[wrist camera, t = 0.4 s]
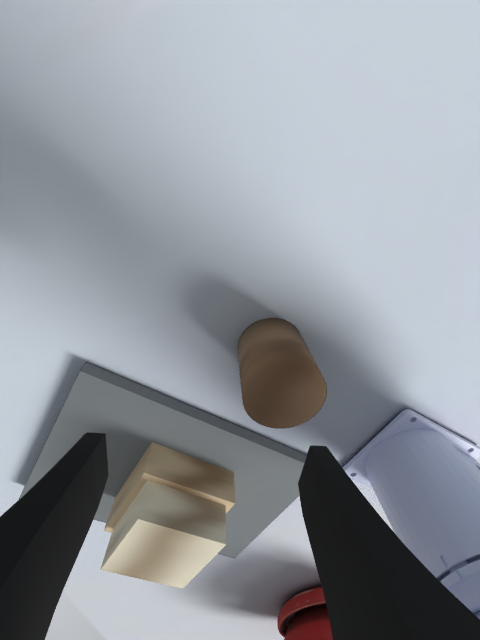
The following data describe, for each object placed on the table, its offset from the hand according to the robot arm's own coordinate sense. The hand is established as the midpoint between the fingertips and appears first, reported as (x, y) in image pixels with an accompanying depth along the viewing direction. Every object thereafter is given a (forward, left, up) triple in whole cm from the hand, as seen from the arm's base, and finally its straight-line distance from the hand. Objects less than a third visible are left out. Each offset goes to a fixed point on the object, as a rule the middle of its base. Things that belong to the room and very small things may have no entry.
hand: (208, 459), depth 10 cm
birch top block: (-4, +13, -6) cm, 15 cm away
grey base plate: (-4, +13, -9) cm, 16 cm away
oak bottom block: (-4, +13, -8) cm, 16 cm away
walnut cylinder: (-4, -1, -10) cm, 10 cm away
